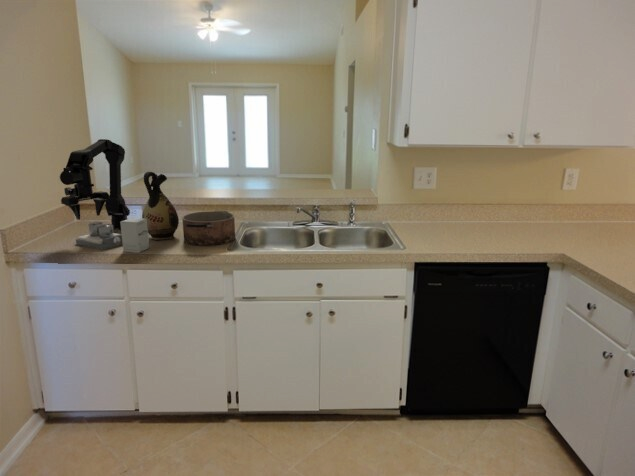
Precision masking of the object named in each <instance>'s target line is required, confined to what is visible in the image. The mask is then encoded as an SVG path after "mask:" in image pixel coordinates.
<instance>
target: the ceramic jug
mask: <svg viewBox="0 0 635 476" xmlns="http://www.w3.org/2000/svg"><path fill="white" fill-rule="evenodd" d="M150 178H151V182H150ZM167 180H168V177H167V176H166V175H165V174H164V173H160V174H156V173H155V172H153V171H147V172H145V173H144V174H143V183H144V185H145V188H146V191H147V193H148V197H149V198H148V199H147V201H146V203H145V205H144V208H143V210H142V213H141V214H142V215H141V218H143V219H147V227H148V235H149V236H150V237H151V238H152V240H154V241H157V240H158V241H159V240H169V239H173V238H175V233H176V231H177V229H178V227H179V224H180V221H179V215H178V212H177V209H176V208H175V206H174V205H173V203H172V202H171V201H170V199H169V198H168V197H167V196H166V195H165V194H164V193H163V191H162V189H161V185H162V184H163V183H164V182H166V181H167Z"/></svg>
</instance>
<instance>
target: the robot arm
mask: <svg viewBox="0 0 635 476" xmlns="http://www.w3.org/2000/svg"><path fill="white" fill-rule="evenodd" d="M101 153H102V154H104V157H105V159H106V161H107V163H108V166H109V169H108V170H109V171H108V172H109V193H108V192H107V191H93V187H95V184H94V183H92V178H91V177H92V176H91V171H93V170H94V168H93V167H92V166H90V165H91V164H92V163H93V162H94V158H95V157H97V156H98V155H100V154H101ZM125 154H126V150H125V148H124V147H123V146H122V145H120V144H117V143H115V142H113V141H112V140H111V139H108V138H107V139H106V138H105V139H104V138H102V139H101V138H100V139H98V140H97V141H96V142H95V141H94V143H93V144H91V145H89V146H87V147H86V148H83V149H78V150H73V151H72V152H70V155H69V157H68V160H67V162H66V163H67V164H66V166H65V167H63V168H62V169H63V171H61V172H60V174H59V180H60V182H61V183H62V184H64V185H66V186H69V185H73V186H74V188H72V187H64V194H65V196H62V197H61V200H60V202H61V204H62V205H64V206H67V207H68V208H70V210H72V212H73V214H74V216H75V217H76V220H81V204H80V203H79V202H82V201H89V200H93V203H94V205H95V211H96V216H100V215H101V212H102V210H103V207H105V210H106V213H107V216H108V217H110V216H111V219H110V220H111V223H110V224H112V225H113V229H115V230H121V224H120V222H121V221H124V220H127V219H128V216H130V214H131V211H130V209H129V208H128V206H127V205H126V201H125V198H124V197H123V195H122V172H121V171H122V168H121V167H122V164H123V162H124V161H125V156H126V155H125ZM104 205H105V206H104Z"/></svg>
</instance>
